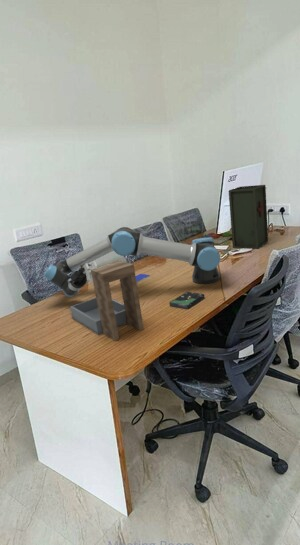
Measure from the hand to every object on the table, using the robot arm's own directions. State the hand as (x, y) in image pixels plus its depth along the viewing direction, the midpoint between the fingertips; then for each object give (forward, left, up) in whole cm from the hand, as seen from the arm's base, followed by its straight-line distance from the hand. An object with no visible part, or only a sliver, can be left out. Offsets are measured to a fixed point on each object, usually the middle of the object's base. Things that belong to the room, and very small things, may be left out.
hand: (91, 264), depth 163 cm
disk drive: (-40, -11, -27) cm, 49 cm away
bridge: (-12, +15, -26) cm, 33 cm away
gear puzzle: (-69, -142, -27) cm, 160 cm away
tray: (0, 0, -26) cm, 26 cm away
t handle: (0, +1, -4) cm, 4 cm away
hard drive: (-11, -55, -27) cm, 62 cm away
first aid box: (-85, -106, -26) cm, 139 cm away
